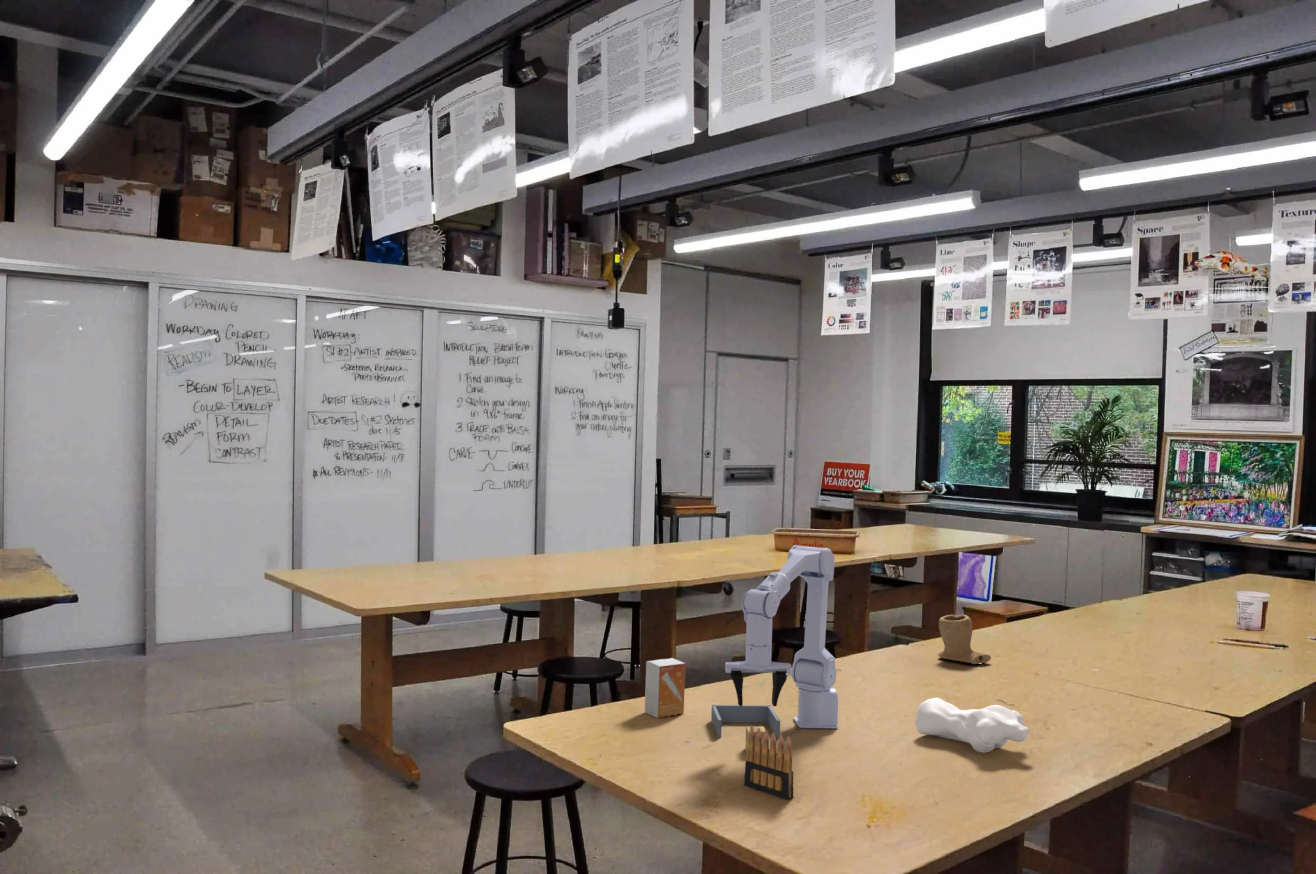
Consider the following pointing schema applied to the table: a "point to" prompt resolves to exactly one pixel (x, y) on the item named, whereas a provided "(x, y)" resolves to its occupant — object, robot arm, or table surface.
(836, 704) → the robot arm
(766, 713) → the u-shaped frame
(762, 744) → the block
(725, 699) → the table surface
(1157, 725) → the table surface
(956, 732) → the torso sculpture
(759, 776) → the ammunition clip
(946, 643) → the tan textured boot shape
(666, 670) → the small box
